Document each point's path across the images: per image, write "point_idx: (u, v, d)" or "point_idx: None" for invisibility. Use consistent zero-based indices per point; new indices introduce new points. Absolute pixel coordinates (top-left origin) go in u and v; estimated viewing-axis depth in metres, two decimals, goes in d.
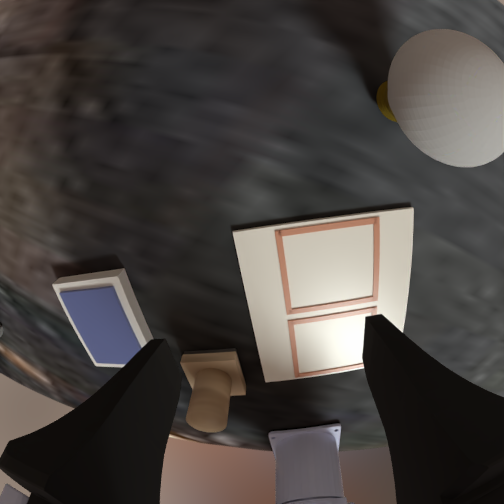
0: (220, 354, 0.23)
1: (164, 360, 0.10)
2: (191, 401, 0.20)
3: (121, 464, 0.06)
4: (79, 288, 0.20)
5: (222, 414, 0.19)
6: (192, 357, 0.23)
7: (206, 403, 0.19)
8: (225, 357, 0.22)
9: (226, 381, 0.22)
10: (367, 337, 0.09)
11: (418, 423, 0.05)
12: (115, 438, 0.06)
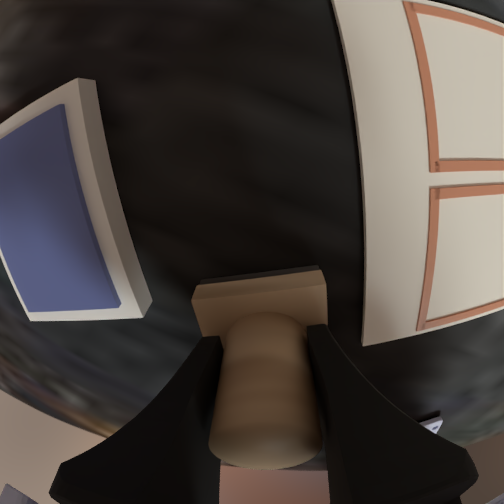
0: (287, 277, 0.10)
1: (219, 358, 0.09)
2: (222, 394, 0.07)
3: (191, 474, 0.05)
4: (6, 135, 0.08)
5: (315, 424, 0.06)
6: (220, 288, 0.10)
7: (271, 397, 0.07)
8: (301, 281, 0.10)
9: (303, 341, 0.09)
10: None
11: (333, 443, 0.05)
12: (186, 446, 0.06)
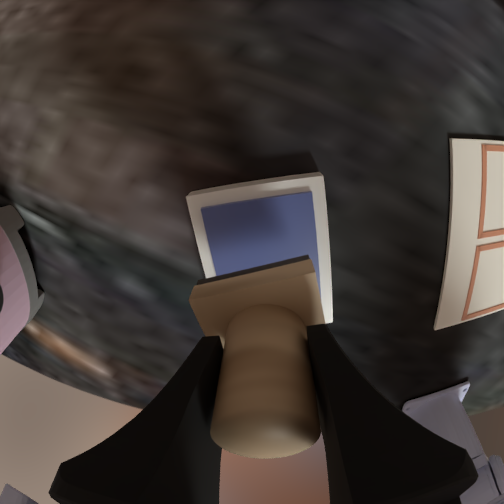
0: (278, 270, 0.11)
1: (219, 358, 0.09)
2: (221, 386, 0.08)
3: (191, 474, 0.05)
4: (244, 198, 0.15)
5: (310, 409, 0.07)
6: (215, 286, 0.11)
7: (264, 384, 0.07)
8: (291, 272, 0.10)
9: (299, 330, 0.10)
10: None
11: (333, 443, 0.05)
12: (186, 446, 0.06)
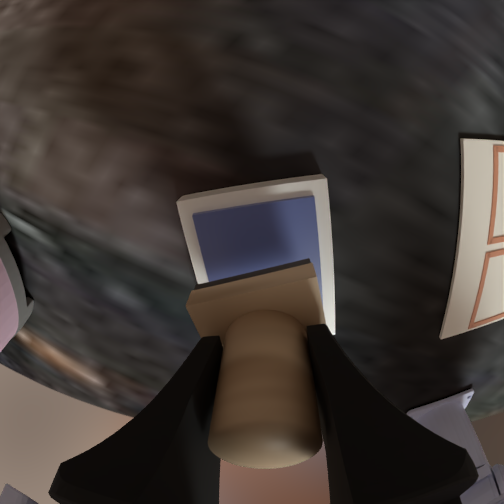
0: (278, 274, 0.10)
1: (219, 358, 0.09)
2: (218, 395, 0.07)
3: (191, 474, 0.05)
4: (239, 203, 0.14)
5: (311, 419, 0.06)
6: (213, 291, 0.10)
7: (263, 395, 0.07)
8: (292, 276, 0.10)
9: (300, 336, 0.09)
10: None
11: (333, 443, 0.05)
12: (186, 446, 0.06)
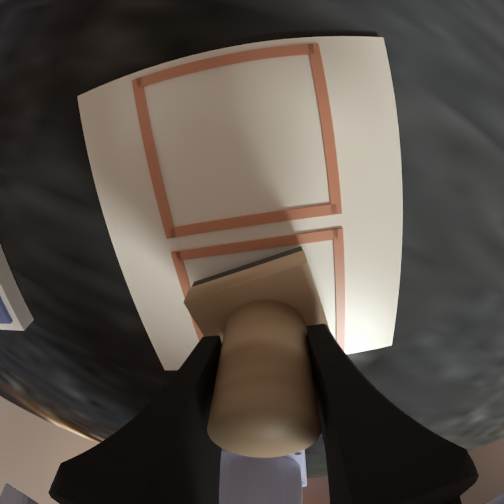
0: (270, 264, 0.10)
1: None
2: (216, 385, 0.08)
3: (191, 474, 0.05)
4: None
5: (307, 404, 0.07)
6: (209, 286, 0.11)
7: (256, 380, 0.07)
8: (283, 265, 0.10)
9: (296, 323, 0.10)
10: None
11: (333, 443, 0.05)
12: (186, 447, 0.06)
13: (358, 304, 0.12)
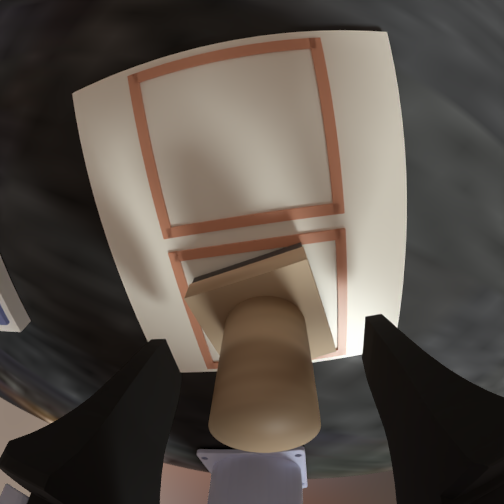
0: (270, 260, 0.10)
1: (164, 360, 0.10)
2: (217, 381, 0.08)
3: (121, 464, 0.06)
4: None
5: (307, 399, 0.07)
6: (210, 282, 0.11)
7: (257, 376, 0.07)
8: (283, 261, 0.10)
9: (296, 319, 0.10)
10: (367, 337, 0.09)
11: (418, 423, 0.05)
12: (115, 438, 0.06)
13: (360, 306, 0.12)
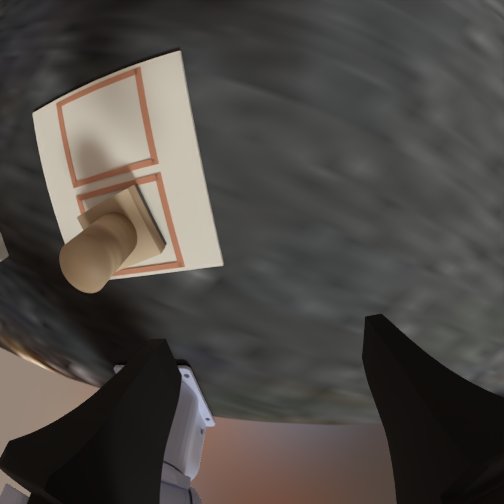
0: (117, 193, 0.17)
1: (164, 360, 0.10)
2: None
3: (121, 464, 0.06)
4: None
5: (96, 247, 0.13)
6: None
7: (79, 235, 0.13)
8: (120, 192, 0.16)
9: (121, 222, 0.16)
10: (367, 337, 0.09)
11: (418, 423, 0.05)
12: (115, 438, 0.06)
13: (184, 227, 0.19)
